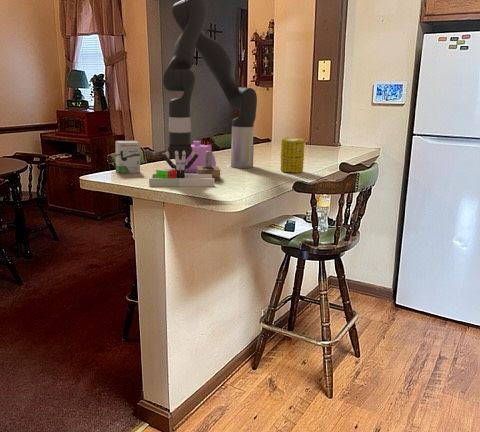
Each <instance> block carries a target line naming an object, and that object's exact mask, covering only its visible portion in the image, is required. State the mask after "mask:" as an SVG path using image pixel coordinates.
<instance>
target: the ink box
mask: <svg viewBox="0 0 480 432" xmlns="http://www.w3.org/2000/svg"><path fill="white" fill-rule="evenodd" d="M140 150H141V143H140V142H139V141H137V140H115V172H116V173H117V174H131V173H132V174H133V173H134V174H135V173H141V151H140Z"/></svg>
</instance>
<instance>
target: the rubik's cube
mask: <svg viewBox="0 0 480 432" xmlns="http://www.w3.org/2000/svg"><path fill="white" fill-rule="evenodd" d="M155 174H156V178H176V174H177V172H176V169H174V168H170V167H169V168H168V167H162V168H158V169H156V171H155Z"/></svg>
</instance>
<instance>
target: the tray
mask: <svg viewBox="0 0 480 432" xmlns="http://www.w3.org/2000/svg"><path fill="white" fill-rule="evenodd" d="M148 187H180V186H179V178H177V173H176V178H156V173H149V177H148Z"/></svg>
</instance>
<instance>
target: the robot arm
mask: <svg viewBox="0 0 480 432" xmlns="http://www.w3.org/2000/svg"><path fill="white" fill-rule="evenodd" d="M171 12H172V13H171V14H172V17H173V19H174V21H175V22H176V24H177V26H178V27H179V28H180V29H181V31H182V32H181V33H180V35H179V36H178V38H177V40H176V41H175V45H174V47H173V53H172V57H171V59H170V62H169V64H168V65H167V67H166V68H165V70H164V72H163V75H162V85H163V87H164V89H166V91H169V92H183V94H182V96H179V97H177V98H176V97H175V98H172V99H170V100H169V101H168V116H169V119H168V147H167V150H166V152H163V153H162V154H161V155H162V158H163V160H165V161H164V162H166V163H167V164H168V166H169V168H170V169H176V174H177V178H185V174H186V172H185V169H187V168H190V166H191V165H192V164H193V163H194V161H195V160H196V159H197V157H198V154H197V153H195V152H194V151H193V149H192V147H191V145H192V122H191V101H192V95H193V92H194V87H195V86H196V85H195V83H196V76H195V73H194V71H192V70H191V68H192V67H193V63H194V57H195V50H196V51H197V52H198V53H199V55H200V57H201V58H202V60H203V62H204V64H205V65H206V67H207V68H208V70H209V71H210V72H211V74H212V76H213V77H214V79H215V80H216V81H217V83H218V85H219V87H220V88H221V90H222V92H223V94H224V96H225V98H226V100H227V102H228V104H229V106H230V107H231V108H232V109H234V110H237V111H240V112H239V115H238V116H236V117H235V118H233V119H232V121H231V147H230V150H231V153H230V155H231V156H230V167H232V168H236V169H237V168H238V169H239V168H240V169H249V168H250V169H251V168H254V155H255V154H254V153H255V152H254V151H255V145H254V127H255V126H254V124H255V121H256V117H257V108H258V107H257V106H258V97H257V93H256V90H255V89H254V88H252V87H240V86H239V84H237V82H236V81H235V79H234V77H233V73H232V72H233V71H232V69H233V66H232V60H231V58H230V56H229V54H228V53H227V50H226V49H225V48H224V46H223V45H222V44H221V43H220V42H218V41H217V40H216V39H213V38H212V37H210V36H208V35H206V34H205V33H204V32H202V29H203V26H204V24H205V21H206V19H207V7H206V5H205V2H204V1H203V0H179V1H177V2H175V3H174V4H173V5H172V6H171ZM190 154H191V157H192V158H191V159H190V161H189V162H188V163H187V164H186V165H185V160H186V159H187V158H188V157H189V155H190ZM170 156H171V157H172V159H173V160H175V164H174V163H173V161H172V160H171V159H170ZM179 160H181V170H180V165H179Z"/></svg>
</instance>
